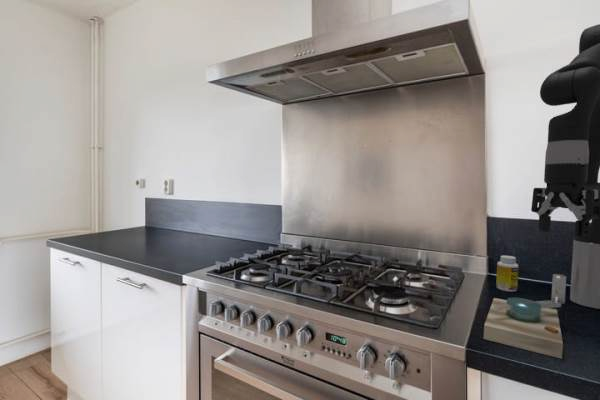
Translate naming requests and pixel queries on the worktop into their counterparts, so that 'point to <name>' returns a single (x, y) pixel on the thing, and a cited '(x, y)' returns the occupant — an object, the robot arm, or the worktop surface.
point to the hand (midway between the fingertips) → (561, 234)
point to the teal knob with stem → (535, 302)
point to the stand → (525, 331)
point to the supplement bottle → (507, 274)
